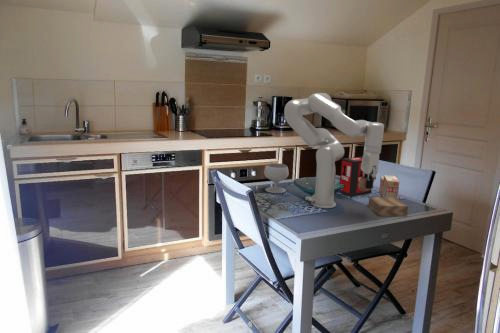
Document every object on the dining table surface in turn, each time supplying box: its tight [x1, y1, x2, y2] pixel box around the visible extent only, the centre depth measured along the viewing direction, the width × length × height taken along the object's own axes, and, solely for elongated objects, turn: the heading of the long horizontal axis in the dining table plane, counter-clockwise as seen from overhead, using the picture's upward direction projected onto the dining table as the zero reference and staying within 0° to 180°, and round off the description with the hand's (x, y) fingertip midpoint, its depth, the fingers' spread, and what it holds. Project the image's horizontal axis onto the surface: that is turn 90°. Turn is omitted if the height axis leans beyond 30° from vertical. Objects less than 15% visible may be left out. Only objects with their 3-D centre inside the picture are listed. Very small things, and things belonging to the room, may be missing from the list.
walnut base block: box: [367, 196, 409, 217], centre depth 191 cm, size 14×14×5 cm
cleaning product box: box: [338, 156, 372, 198], centre depth 219 cm, size 16×9×20 cm, turn 120°
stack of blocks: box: [379, 174, 400, 199], centre depth 214 cm, size 21×6×12 cm, turn 170°
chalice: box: [263, 162, 290, 194], centre depth 218 cm, size 14×14×15 cm
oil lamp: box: [358, 176, 377, 191], centre depth 182 cm, size 9×4×8 cm, turn 107°
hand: (367, 186), depth 182 cm, fingers closed on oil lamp, 4 cm apart
